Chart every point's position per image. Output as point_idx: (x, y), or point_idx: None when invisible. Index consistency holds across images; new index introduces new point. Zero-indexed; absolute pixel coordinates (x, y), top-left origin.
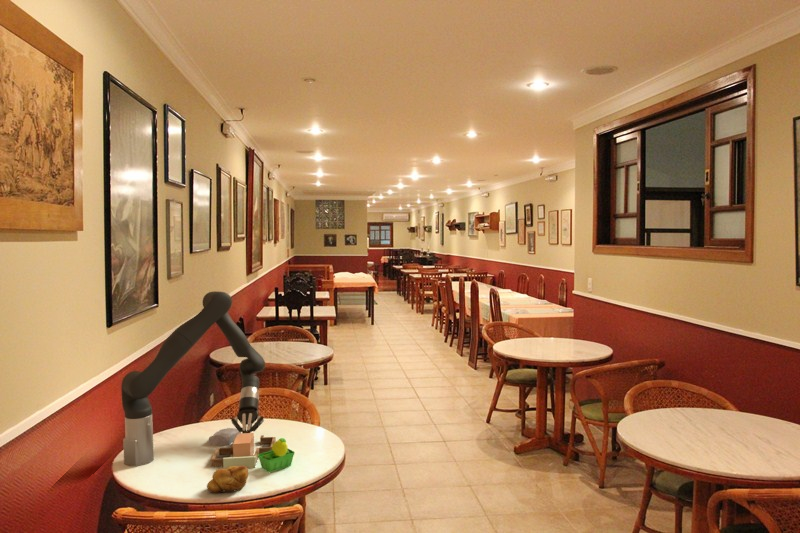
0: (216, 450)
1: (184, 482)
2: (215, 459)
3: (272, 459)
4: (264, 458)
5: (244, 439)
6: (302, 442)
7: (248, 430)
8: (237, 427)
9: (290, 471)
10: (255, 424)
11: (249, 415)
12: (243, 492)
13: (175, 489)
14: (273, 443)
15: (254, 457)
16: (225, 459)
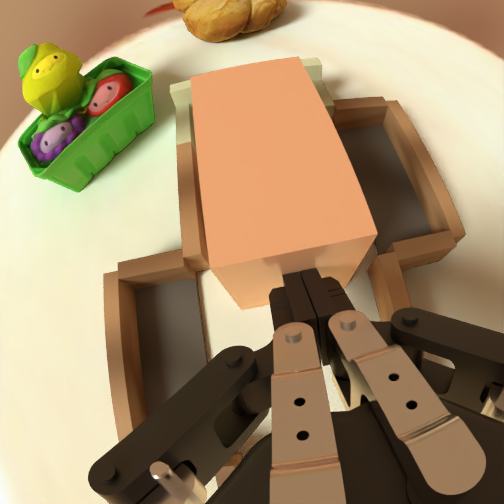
0: (448, 200)
1: (387, 41)
2: (376, 98)
3: (97, 67)
4: (123, 60)
5: (248, 113)
6: (26, 435)
7: (290, 326)
8: (434, 315)
9: None
10: (206, 392)
11: (328, 487)
12: None
13: (379, 21)
14: (107, 340)
15: (172, 86)
16: (307, 62)
